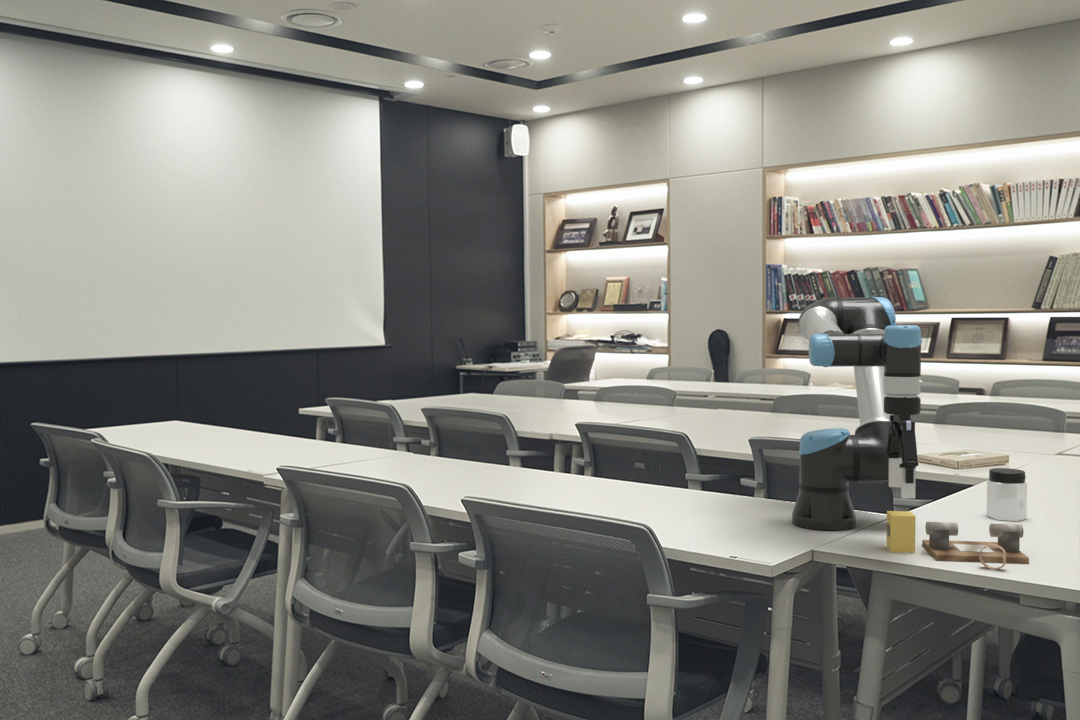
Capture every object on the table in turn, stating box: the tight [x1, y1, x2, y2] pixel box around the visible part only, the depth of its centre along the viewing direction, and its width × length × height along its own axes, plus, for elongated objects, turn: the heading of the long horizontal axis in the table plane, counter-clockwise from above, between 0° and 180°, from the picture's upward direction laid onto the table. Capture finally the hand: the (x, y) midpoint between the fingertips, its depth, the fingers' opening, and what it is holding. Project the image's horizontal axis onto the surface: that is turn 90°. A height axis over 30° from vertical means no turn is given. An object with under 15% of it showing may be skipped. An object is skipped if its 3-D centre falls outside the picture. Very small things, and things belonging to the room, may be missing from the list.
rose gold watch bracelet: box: [979, 544, 1007, 571], centre depth 187 cm, size 3×5×5 cm, turn 55°
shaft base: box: [921, 521, 1030, 564], centre depth 198 cm, size 19×13×7 cm
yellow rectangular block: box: [886, 510, 916, 554], centre depth 203 cm, size 5×5×8 cm
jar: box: [986, 467, 1028, 523], centre depth 232 cm, size 9×8×12 cm
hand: (901, 492), depth 202 cm, fingers open, 13 cm apart
